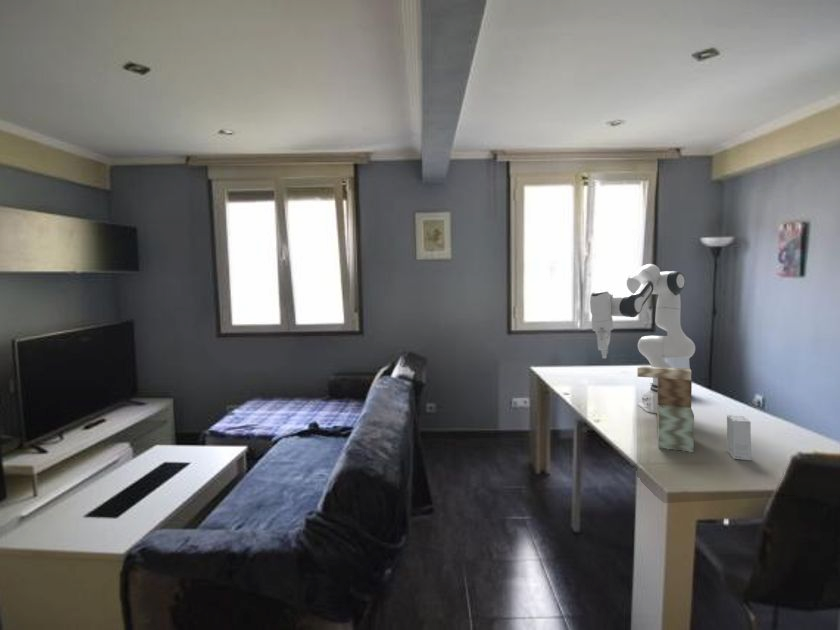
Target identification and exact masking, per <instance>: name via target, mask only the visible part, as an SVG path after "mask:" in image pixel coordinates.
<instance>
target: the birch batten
mask: <svg viewBox="0 0 840 630" xmlns="http://www.w3.org/2000/svg"><path fill="white" fill-rule="evenodd" d="M636 376H637V378H651V379H653V378H665V379H680V380H691V381H692V369H691V368H690V369H682V368H664V367H651V366H643V365H637V375H636Z"/></svg>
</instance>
